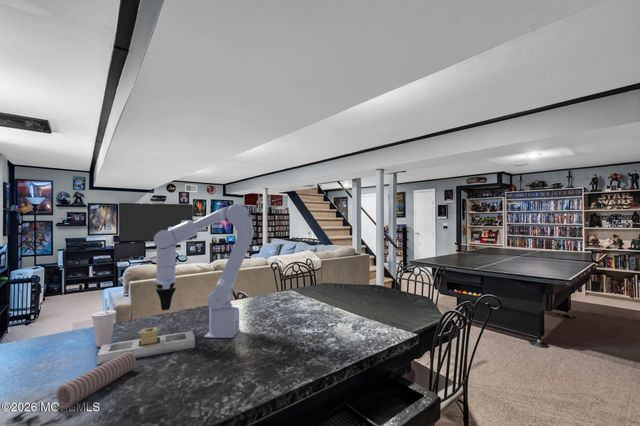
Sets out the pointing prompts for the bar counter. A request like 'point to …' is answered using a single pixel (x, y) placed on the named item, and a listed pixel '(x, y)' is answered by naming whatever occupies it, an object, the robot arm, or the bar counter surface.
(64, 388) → the coil
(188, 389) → the bar counter surface
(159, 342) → the rail
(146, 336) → the drilled wooden block
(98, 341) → the smoothie
